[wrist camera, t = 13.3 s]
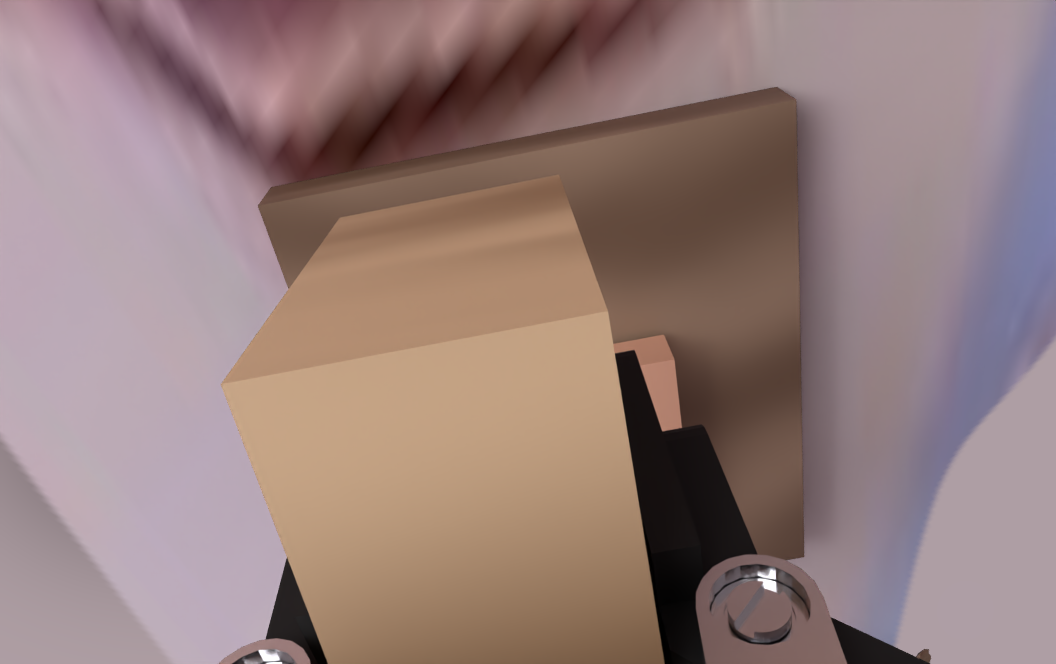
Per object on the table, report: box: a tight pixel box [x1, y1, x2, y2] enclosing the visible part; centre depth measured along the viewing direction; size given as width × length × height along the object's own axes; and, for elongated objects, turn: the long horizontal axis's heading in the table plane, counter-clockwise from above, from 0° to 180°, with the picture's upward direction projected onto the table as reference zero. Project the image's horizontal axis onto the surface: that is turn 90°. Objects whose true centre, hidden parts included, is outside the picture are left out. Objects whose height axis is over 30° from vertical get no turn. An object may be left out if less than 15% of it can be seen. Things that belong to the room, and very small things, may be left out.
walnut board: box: [258, 87, 804, 560], centre depth 25 cm, size 16×14×2 cm
